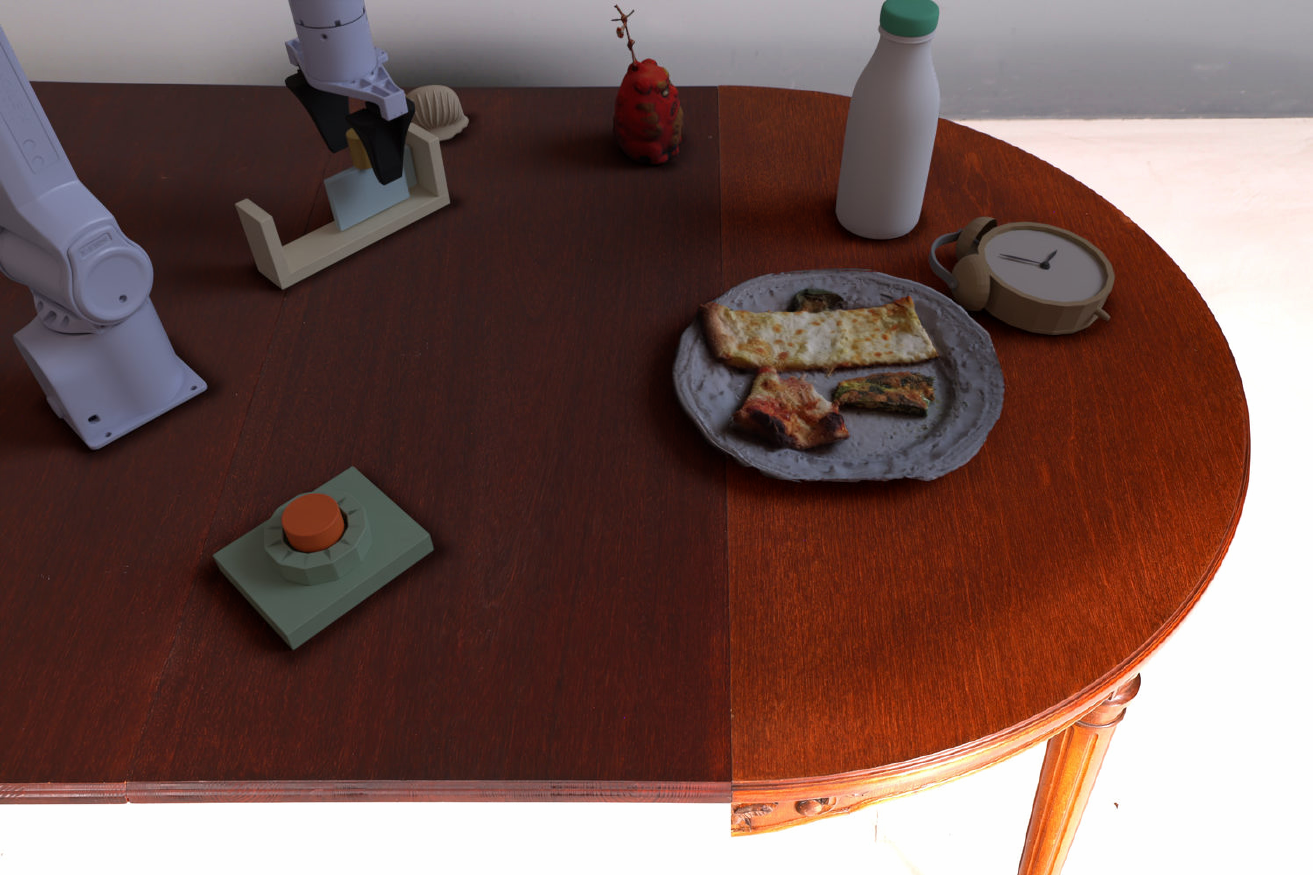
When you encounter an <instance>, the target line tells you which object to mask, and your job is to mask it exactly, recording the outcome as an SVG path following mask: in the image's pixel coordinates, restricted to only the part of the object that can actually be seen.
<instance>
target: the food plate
mask: <svg viewBox="0 0 1313 875" xmlns="http://www.w3.org/2000/svg"><path fill="white" fill-rule="evenodd" d="M677 342H678V345H677V346H676V348H675V351H674V358H673V360H674V361H673V363H672V370H671V373H672V374H671V384H672V385H671V387H672V389H673V394H674V396H673V397H674V398H675V401H676V402H677V405H678V406H679V408H680V409H681V411H682V413H683V414H684V415H685V416H686V417H687V418H688V419H689V421H691V423H692V424H693V425H694V427H695V428H696V429H697V431H698V432H699V434H700V435H701V438H702V440H703V441H704V443H705V444H707V445H709V446H711V447H712V448H713V449H714V450H715V451H716V452H718V453H720V454H722V455H723V456H724V455H725V457H726V459H725V462H729V461H730V458H729V457H730V456H729V455H731V456H732V458H733V460H734V461H735V462H736V463H737V465H739V466H741V467H743V468H746V467H754V468H756V469H758V470H759V473H760V474H761V475H762V476H764V477H765V478H770V479H777V480H780V481H781V480H785V481H792V482H797V483H803V482H801V481H800V480H804V481H805V482H807V481H808V482H814V481H815V482H819V481H821V482H824V483H825V482H833V483H835V482H842V483H845V482H847V483H858V482H860V481H870V482H871V481H877V482H879V481H883V482H887V481H891V480H898V479H899V480H900V479H904V478H908V479H914V480H915V479H916V480H918V481H924V482H929V481H932V480H935V479H938V478H939V477H940V478H941V477H944V476H945V475H947V474H949V473H950V472H951V473H952V472H954V471H955V470H958V469H959V468H960V467H963V466H965V465H966V464H967V463H968V462H969V461H970V460H971V459H972V458H974V456H977V454H978V453H979V452H980V449H981V448H982V446H984V444H985V442H987V439H988V438H987V437H988V436H989V433H990V431H992V430H993V428H994V426H995V424H996V423H997V422H998V420H999V419H1000V418H1001V414H1002V409H1003V408H1004V407H1003V405H1004V404H1003V403H1004V400H1005V399H1004V395H1005V389H1006V386H1007V385H1006V384H1005V383H1006V382H1005V383H1004V381H1005V377H1004V373H1003V372H1004V371H1003V369H1002V366H1001V363H1000V362H999V358H998V355H997V352H996V349H995V346H994V344H993V343H994V342H993V341H992V339H991V334H990V333H989V332H988V330H986V329H985V328H984V327H983V326H982V325H981V324H980V323H978V322H977V321H976V320H975V319H974V318H972V317H971V316H970V315H969V314H968V312H967V310H966V309H964V308H962V307H961V306H959V305H958V303H956V302H954V301H953V300H952V299H951V298H949V297H948V296H946V295H945V294H943V293H941V292H939V291H937V290H936V289H935V288H932V287H929V286H927V285H924V284H922V283H920V282H918V281H914V280H912V279H907V278H902V277H897V276H893V275H890V274H887V273H884V272H880V271H877V270H875V269H873V271H871V269H869V268H860V267H855V268H854V267H853V268H852V267H851V268H847V267H844V268H843V267H840V268H838V267H837V268H820V269H806V270H803V269H802V270H793V271H792V270H791V271H783V272H779V273H778V274H776V272H773V273H767V274H764V275H759V276H757V277H753V278H750V279H747V280H745V281H742V282H741V283H738V284H737V285H735V286H732V287H731V288H729V289H728V290H727V291H725V292H724V293H722V295H720V296H719V297H715V299H713V300H711V301H710V302H709V301H707V303H704V304H702V303H700V304H699V305H698V307H697V311H696V312H695V315H694V316H693V318H692V321H691V322H690V323H689V325H688V326H686V328H685V329H684V330H683V331H682V332H681V334H680V336H679V337H678V341H677Z"/></svg>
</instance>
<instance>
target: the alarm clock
mask: <svg viewBox="0 0 1313 875" xmlns="http://www.w3.org/2000/svg"><path fill="white" fill-rule="evenodd" d="M955 242H956V243H955ZM952 243H955V250H954V251H955V257H956V260H957V263H955V265H954V266H953V269H952V271H951V272H950V271H949V270H948V269H947V268H945V267H944V266H943V265H942V264H941V263H940V262H939V261H938V259H937V257H936V252H935V251H936V250H937V249H939V248H940V247H942V246H944V245H947V244H952ZM928 264H929V268H930V269H931V271H932V272H933V273H934V274H935V276H937V277H938V278H939V279H941V280H942V281H943V282H944V283H946V284H947V286H948V288H949V289H950V291H951V294H952V297H953V299H954V301H955V303H956V304H957V305H959V306H961V307H962V308H964V310H965V311H970V312H979V311H982V309H984V310H985V311H986V312H988V313H989V315H991V316H993V317H994V318H996V319H998V320H1000V321H1002V322H1004V323H1005V324H1007V325H1009V326H1012V327H1015V328H1018V329H1021V330H1024V331H1028V332H1029V333H1035V334H1042V335H1050V336H1057V335H1068V334H1075V333H1078V332H1080V331H1082V330H1084V329H1087V328H1089V327H1090V326H1091V325H1092V324H1093V323H1094V322H1095V321H1096V320H1097V319H1098V318H1099V319H1101V320H1104V321H1106V322H1108V321H1109V320H1110V319H1111V316H1110V315H1109V314H1108V313H1107V312H1106V311H1105V310H1104V309H1102V308H1103V307H1104V304H1105V303H1106V301H1107V298H1108V297H1109V294H1110V293H1111V292H1112V290H1113V286H1114V283H1115V280H1116V276H1115V272H1114V268H1113V264H1112V263H1111V262H1110V261H1109V259H1108V258H1107V256H1106V255H1105V254H1104V252H1103V250H1101V249H1099V248H1098V247H1097V246H1095V245H1094V244H1093V243H1092V242H1090V241H1089V240H1088V239H1086V238H1084V237H1082V236H1080V235H1078V234H1076V233H1074V232H1072V231H1071V230H1068V229H1064V228H1061V227H1058V226H1055V225H1051V224H1048V223H1040V222H1034V221H1033V222H1032V221H1019V222H1007V223H1004V224H1001V225H999V226H998V221H997V219H996V218H993V217H990V216H980V217H977V218H974V219H973V220H971V221H970V222H969V223H967V225H966V226H964V228H958V229H957V231H956V232H949V233H945V234H943V235H940V236H938V237H937V238H936V239H935V240H934V241H933V243H932V245H931V248H930V251H929V254H928Z"/></svg>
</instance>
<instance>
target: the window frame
mask: <svg viewBox="0 0 1313 875" xmlns="http://www.w3.org/2000/svg"><path fill="white" fill-rule="evenodd" d="M444 166H445V165H444V162H443V156H442V150H441V145H440V141H439V139H438V137H436V136H435V135H433V134H431V133H429V132H428V131H426V130H424V129H422V128H421V127H419V126H417V125H416V124H414V123H410V126H409V129H408V132H407V136H406V141H405V148H404V160H403V168H404V173H405V178H406V182H407V187H408V192H409V196H410V197H409V198H407V199H405V200H403V201H401V202H399V203H397V204H395V205H393V206H391V207H389V208H387V209H385V210H383V211H381V212H379V213H377V214H375V215H373V216H371V217H369V218H367V219H365V220H363V221H361V222H359V223H357V224H355V225H353V226H351V227H349V228H347V229H345V230H343V231H340V230H339V229H337V227H336V224H335V220H333V221H331V222H329V223H327V224H324V225H323V226H321V227H319V228H317V229H315V230H313V231H311V232H309V233H306V234H305V235H302V236H301V237H299V238H297V239H295V240H292V241H290V242H288V243H287V244H284V245H282V243H281V239H280V236H279V233H278V230H277V227H276V224H275V221H274V217H273V216H272V215H270V213H268V212H267V211H265V210H264V209H263V208H261V207H260V206H259V205H257V204H256V203H254V202H253V201H252V200H250V199H249V198H245V199H242V200H240V201H237V202H235V204H234V205H235V208H236V211H237V214H238V217H239V219H240V223H241V226H242V228H243V231H244V234H245V237H246V238H247V243H248V245H249V248H250V251H251V254H252V255H253V260H254V262H255V265H256V268H257V270H258V272H259V273H260V274H262V275H263V276H264V277H266V278H267V279H268V280H269V281H271V282H272V283H273V284H274V285H276V286H277V287H278V288H280V289H281V290H283V291H284V290H285V289H287V288H289V287H291V286H293V285H295V284H296V283H299V282H300V281H303V280H305V279H306V278H308V277H310V276H313V275H314V274H316V273H318V272H320V271H322V270H323V269H326V268H328V267H329V266H332V265H333V264H336V263H338V262H339V261H341V260H343V259H345V258H347V257H349V256H351V255H353V254H355V253H356V252H358V251H360V250H363V249H365V248H366V247H369V246H370V245H372V244H374V243H376V242H378V241H379V240H382V239H384V238H386V237H387V236H390V235H392V234H393V233H396V232H397V231H400V230H401V229H403V228H405V227H407V226H409V225H411V224H412V223H415V222H417V221H419V220H421V219H422V218H424V217H427V216H429V215H430V214H432V213H434V212H436V211H438V210H440V209H441V208H444V207H445V206H448V205H449V204H451V200H450V193H449V189H448V185H447V184H448V183H447V178H446V172H445V167H444Z"/></svg>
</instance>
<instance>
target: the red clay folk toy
mask: <svg viewBox="0 0 1313 875" xmlns="http://www.w3.org/2000/svg"><path fill="white" fill-rule="evenodd" d="M613 7H614V8H615V9H616V11H617V12H618V13H619V14H620V18H612V19H611V20H610V21H611V22H619V21H620V22H621V23H622V25H621V27H620V26H617V27H616V30H615V33H616V36H617V38H619V39H623V38H624V36H625V32H626V36H627V44H626V47H627V49H628V50H629V51H630V54H631V58H632V62H631V63H630V64H629V65H628V67H627V70H626V73H625V74H624V76H623V78H622V79H621V83H620V86H619V88H618V92H617V94H616V96H615V102H614V113H613V114H614V115H613V118H612V123H613V125H612V133H613V136H614V143H615V145H616V147H618V148H619V149H621V150H622V151H623V153H624V154H625V155H626V156H627V157H629V158H630V159H631V160H634V161H636V162H637V163H639V164H646V163H647V162H649V163H650V165H654V166H657V165H664V164H665V163H666V162H667V161H668V160H669V159H671V158H674V157H675V156H678V155H679V152H680V147H679V146H680V145H681V143H682V138H683V137H682V132H683V129H684V120H683V119H684V111H683V108H682V107H681V102H680V99H679V92H678V89H677V87H676V86H675V85H674V84H673V83H672V81H671V79H670V73H669V71H668V70H667V68H666V67H664V66H660V65H658V62H657V61H656V59H652V58H650V57H648V58H645V59H643V60H642V61H638V59H637V57H636V55H635V52H634V48H633V46H634V45H635V43H636V40H634V39H632V38H631V36H630V33H629V28H628V24H627V23H628V20H629V19H628V18H629V17H630V16H632V15H633V14H634V12H635V9H632V10H631V12H629V13H628V14H625V13H623V10H622V9H621V8H620V7H619V5H618V4H617V3H616V4H615V5H613Z"/></svg>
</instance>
